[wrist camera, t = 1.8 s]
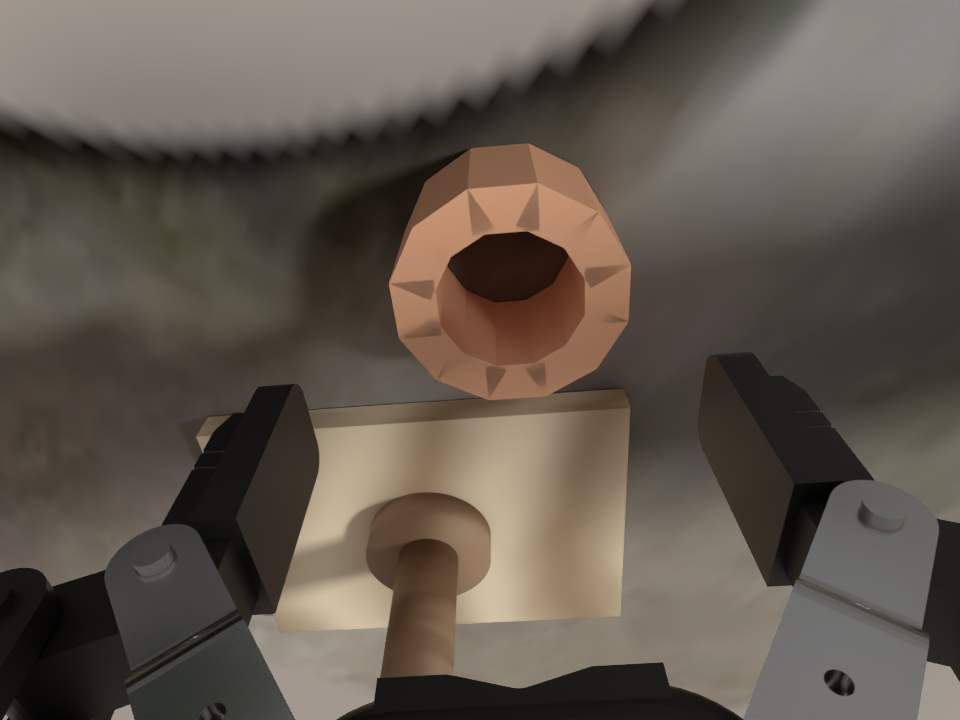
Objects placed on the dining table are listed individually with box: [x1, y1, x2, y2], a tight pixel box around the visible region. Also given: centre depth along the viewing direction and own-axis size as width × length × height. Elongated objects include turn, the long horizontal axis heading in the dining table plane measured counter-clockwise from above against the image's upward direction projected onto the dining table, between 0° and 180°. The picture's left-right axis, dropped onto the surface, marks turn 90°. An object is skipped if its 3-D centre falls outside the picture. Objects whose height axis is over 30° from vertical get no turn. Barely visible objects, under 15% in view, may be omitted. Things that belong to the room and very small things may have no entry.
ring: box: [389, 143, 631, 400], centre depth 18 cm, size 6×6×4 cm
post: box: [366, 492, 491, 678], centre depth 23 cm, size 5×5×7 cm
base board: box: [196, 389, 631, 632], centre depth 26 cm, size 16×12×1 cm
